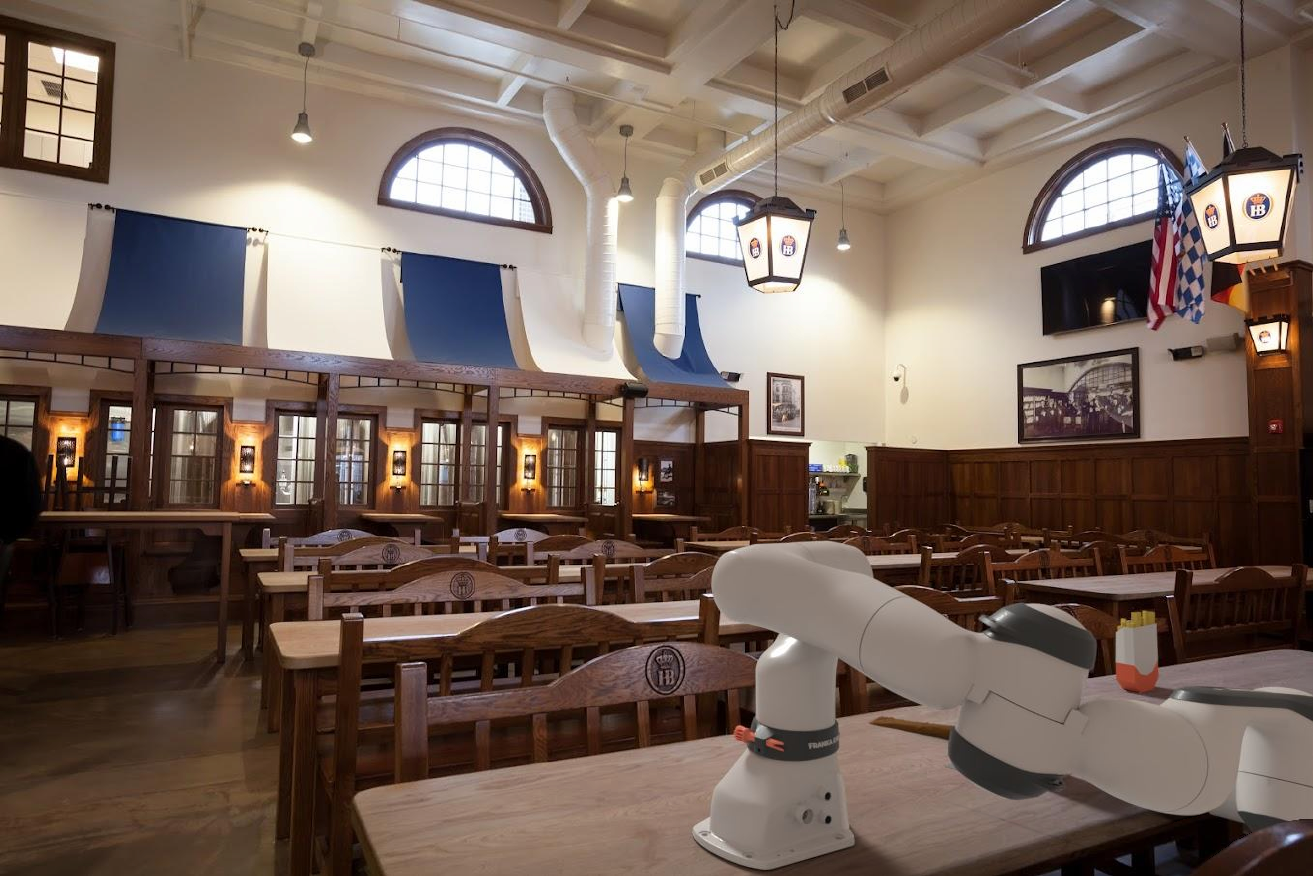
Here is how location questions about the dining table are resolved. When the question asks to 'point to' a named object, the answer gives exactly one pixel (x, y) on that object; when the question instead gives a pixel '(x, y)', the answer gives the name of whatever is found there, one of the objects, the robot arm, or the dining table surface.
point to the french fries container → (1137, 652)
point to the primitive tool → (914, 726)
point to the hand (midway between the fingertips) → (1116, 758)
